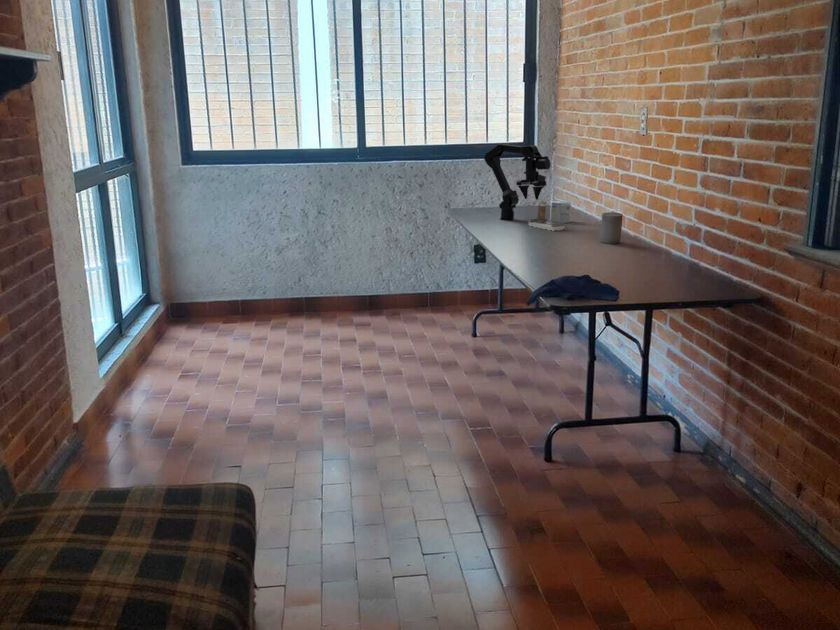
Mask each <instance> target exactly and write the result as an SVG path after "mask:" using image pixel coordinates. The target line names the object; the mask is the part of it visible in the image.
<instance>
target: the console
mask: <svg viewBox="0 0 840 630" xmlns="http://www.w3.org/2000/svg"><path fill="white" fill-rule="evenodd" d="M536 219H538V217H533V218H528V227H531V226H533V227H532V228H536V227H537V229H541V228H542V230H545V229H547V231H550V230H552V231H551V232H555V230H557V231H564V230H565V227H566V226H565V225H566V222H550V221H547V222H543V223H538V222H535V220H536ZM563 229H564V230H563Z"/></svg>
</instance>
